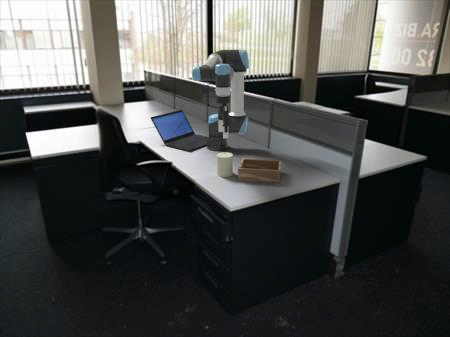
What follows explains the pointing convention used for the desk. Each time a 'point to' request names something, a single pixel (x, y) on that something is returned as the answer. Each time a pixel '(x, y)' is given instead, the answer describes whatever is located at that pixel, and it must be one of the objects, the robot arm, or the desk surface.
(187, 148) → the laptop
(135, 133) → the desk surface
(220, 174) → the can
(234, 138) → the desk surface
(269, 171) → the walled box
